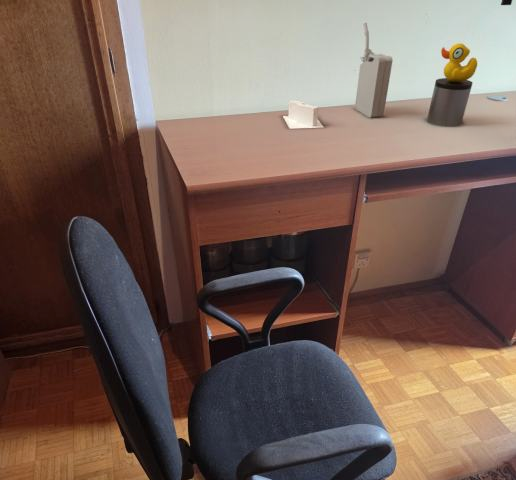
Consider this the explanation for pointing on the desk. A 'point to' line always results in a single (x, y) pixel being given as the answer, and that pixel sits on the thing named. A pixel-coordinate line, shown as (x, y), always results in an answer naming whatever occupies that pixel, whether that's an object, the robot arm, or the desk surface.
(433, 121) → the jar
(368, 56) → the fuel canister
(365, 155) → the desk surface
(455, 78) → the duckling
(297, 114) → the napkin holder
